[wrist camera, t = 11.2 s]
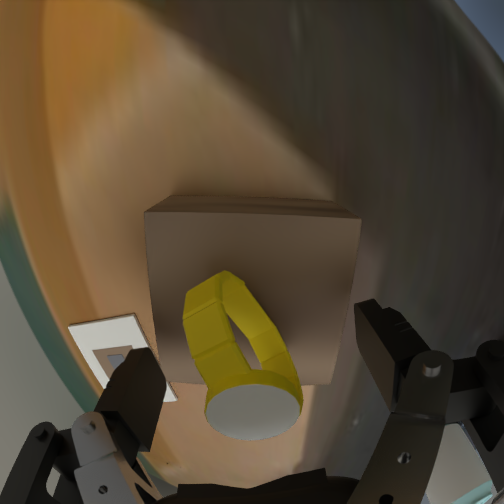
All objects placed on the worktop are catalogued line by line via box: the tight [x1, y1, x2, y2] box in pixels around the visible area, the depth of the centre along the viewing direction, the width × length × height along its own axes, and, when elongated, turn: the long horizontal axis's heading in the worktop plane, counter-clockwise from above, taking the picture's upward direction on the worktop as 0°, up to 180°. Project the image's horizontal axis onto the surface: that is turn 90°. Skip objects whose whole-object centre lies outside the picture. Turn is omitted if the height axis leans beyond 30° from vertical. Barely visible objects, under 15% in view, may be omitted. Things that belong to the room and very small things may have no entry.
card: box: [68, 314, 178, 402], centre depth 20 cm, size 8×6×1 cm
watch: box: [182, 270, 303, 440], centre depth 10 cm, size 6×3×6 cm, turn 32°
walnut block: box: [144, 196, 362, 386], centre depth 16 cm, size 9×9×5 cm
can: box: [425, 424, 492, 504], centre depth 20 cm, size 7×7×12 cm
